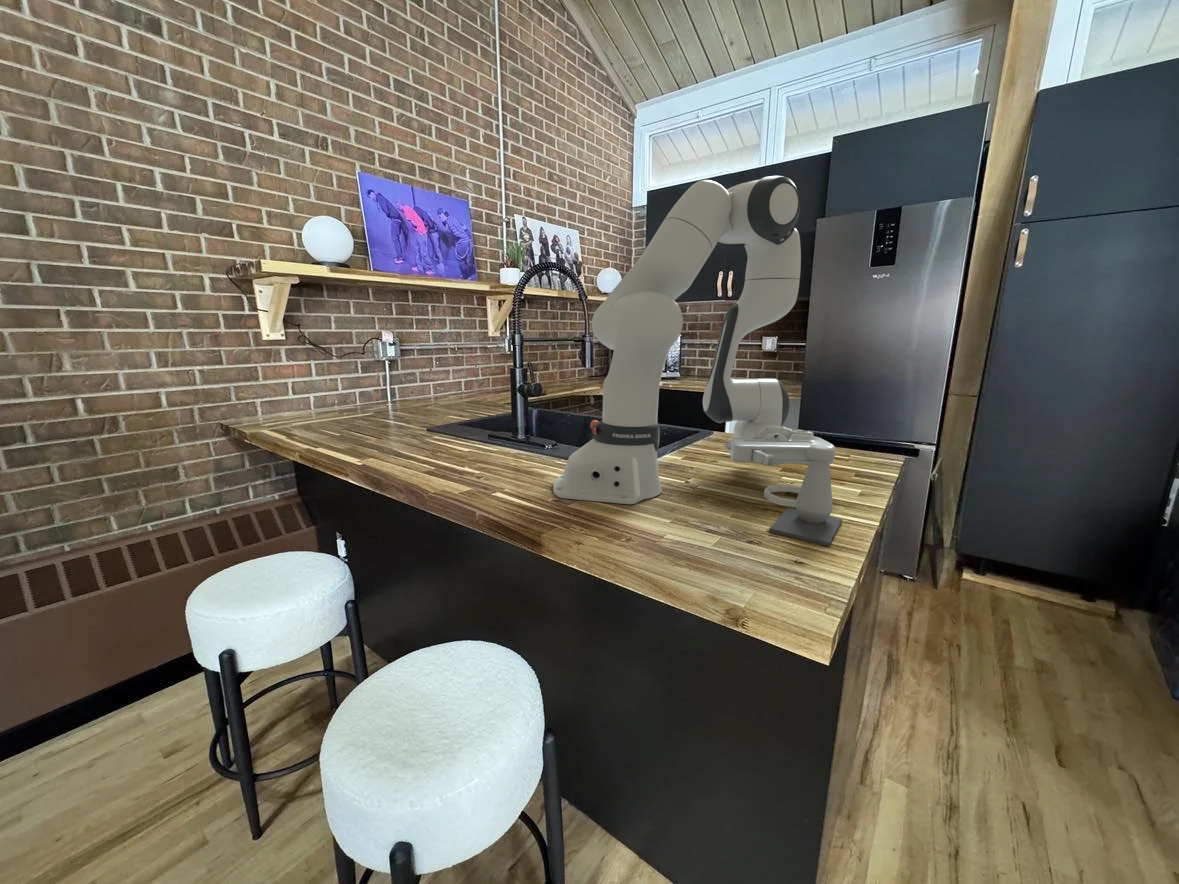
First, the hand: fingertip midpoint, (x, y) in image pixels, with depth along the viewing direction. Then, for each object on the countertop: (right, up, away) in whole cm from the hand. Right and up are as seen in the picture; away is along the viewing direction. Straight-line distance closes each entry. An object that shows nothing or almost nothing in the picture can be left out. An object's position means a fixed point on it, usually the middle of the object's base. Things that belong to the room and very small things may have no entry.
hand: (795, 461), depth 89 cm
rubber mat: (-2, -11, -9) cm, 14 cm away
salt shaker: (0, -10, -7) cm, 12 cm away
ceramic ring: (+2, -8, +5) cm, 9 cm away
